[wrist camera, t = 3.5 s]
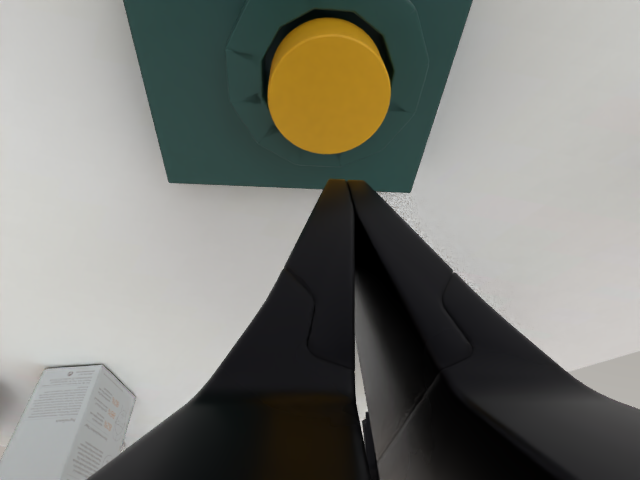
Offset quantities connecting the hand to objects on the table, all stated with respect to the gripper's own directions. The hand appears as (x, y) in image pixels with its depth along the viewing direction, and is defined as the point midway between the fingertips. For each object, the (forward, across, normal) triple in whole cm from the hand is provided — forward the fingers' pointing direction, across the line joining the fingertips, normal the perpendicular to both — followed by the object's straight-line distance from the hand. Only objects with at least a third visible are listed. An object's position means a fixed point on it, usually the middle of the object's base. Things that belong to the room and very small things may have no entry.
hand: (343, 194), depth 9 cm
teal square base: (+10, +1, +1) cm, 10 cm away
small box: (+10, +20, +33) cm, 40 cm away
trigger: (+6, 0, 0) cm, 6 cm away
